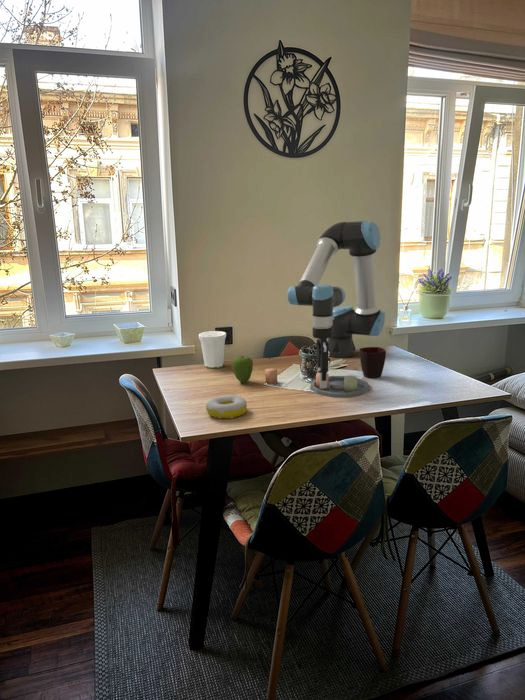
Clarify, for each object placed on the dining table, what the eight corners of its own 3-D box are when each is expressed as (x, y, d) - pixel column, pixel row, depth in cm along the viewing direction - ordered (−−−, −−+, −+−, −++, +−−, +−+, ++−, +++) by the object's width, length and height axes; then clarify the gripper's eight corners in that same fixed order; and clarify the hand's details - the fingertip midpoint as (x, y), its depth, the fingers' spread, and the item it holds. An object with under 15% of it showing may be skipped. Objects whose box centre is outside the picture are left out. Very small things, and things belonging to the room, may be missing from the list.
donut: (205, 421, 168) (204, 407, 166) (207, 407, 181) (206, 393, 180) (247, 419, 168) (246, 405, 167) (246, 405, 182) (246, 392, 180)
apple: (244, 377, 214) (243, 351, 211) (258, 381, 208) (257, 354, 205) (228, 382, 208) (227, 355, 205) (242, 386, 202) (241, 359, 199)
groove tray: (301, 385, 201) (300, 380, 200) (348, 378, 209) (348, 373, 208) (328, 403, 181) (328, 397, 181) (379, 394, 189) (379, 388, 188)
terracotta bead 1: (263, 382, 207) (263, 369, 206) (274, 380, 209) (274, 367, 208) (268, 385, 203) (268, 372, 202) (279, 383, 205) (279, 370, 203)
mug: (365, 382, 203) (366, 353, 200) (352, 373, 216) (353, 345, 213) (388, 380, 204) (389, 351, 202) (374, 371, 218) (375, 344, 215)
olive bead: (341, 390, 191) (341, 376, 189) (352, 389, 192) (352, 375, 191) (348, 394, 186) (348, 380, 185) (359, 392, 188) (359, 378, 187)
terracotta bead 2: (313, 388, 194) (313, 374, 193) (320, 385, 198) (320, 371, 196) (324, 390, 191) (324, 376, 190) (330, 387, 195) (330, 373, 193)
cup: (196, 369, 228) (194, 336, 225) (206, 361, 240) (205, 330, 236) (221, 370, 225) (220, 337, 221) (231, 363, 236) (229, 331, 233)
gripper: (336, 331, 180) (336, 393, 186) (328, 321, 197) (328, 378, 203) (315, 331, 180) (315, 393, 186) (309, 322, 197) (309, 379, 203)
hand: (322, 385), depth 194 cm, fingers closed on terracotta bead 2, 5 cm apart
